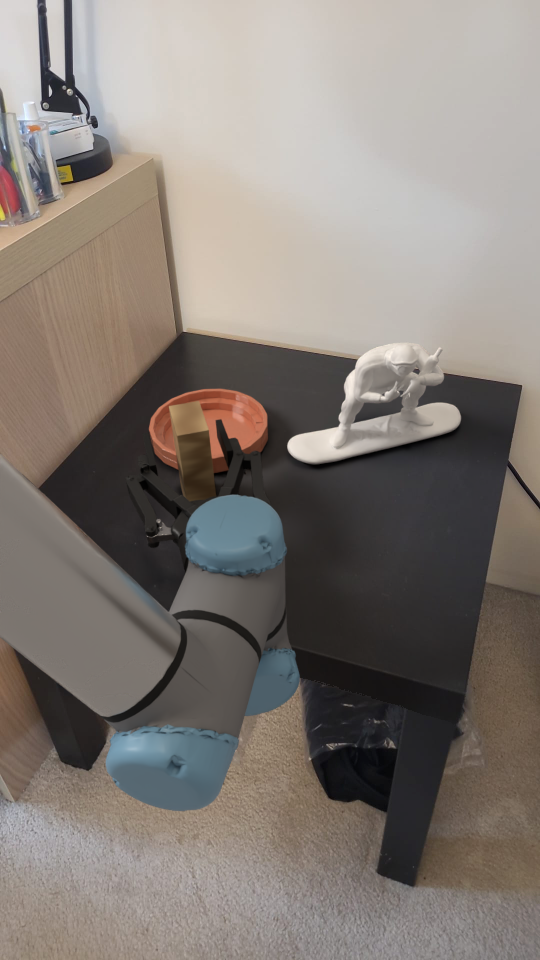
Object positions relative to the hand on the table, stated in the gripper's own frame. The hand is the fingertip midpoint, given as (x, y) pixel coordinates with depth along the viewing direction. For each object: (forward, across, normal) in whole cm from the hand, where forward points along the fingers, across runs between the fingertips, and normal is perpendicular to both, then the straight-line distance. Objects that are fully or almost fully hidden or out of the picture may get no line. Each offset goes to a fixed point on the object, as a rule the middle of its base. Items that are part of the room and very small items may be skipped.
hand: (183, 435), depth 85 cm
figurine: (+1, +26, -7) cm, 27 cm away
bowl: (+8, +4, -7) cm, 11 cm away
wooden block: (-5, 0, -7) cm, 9 cm away
